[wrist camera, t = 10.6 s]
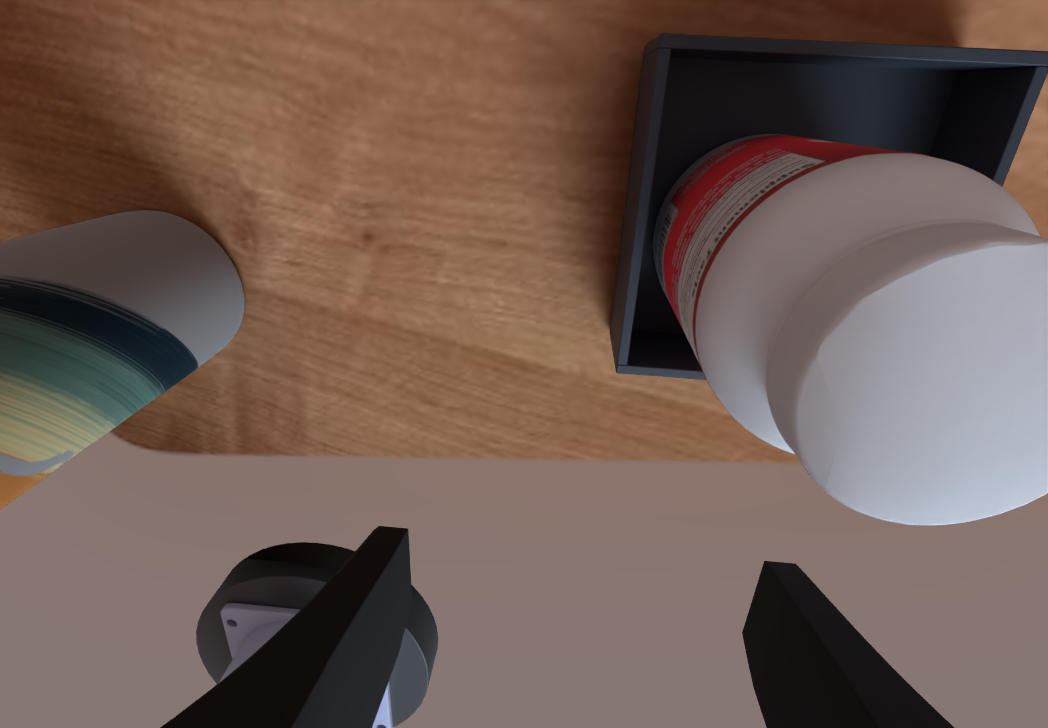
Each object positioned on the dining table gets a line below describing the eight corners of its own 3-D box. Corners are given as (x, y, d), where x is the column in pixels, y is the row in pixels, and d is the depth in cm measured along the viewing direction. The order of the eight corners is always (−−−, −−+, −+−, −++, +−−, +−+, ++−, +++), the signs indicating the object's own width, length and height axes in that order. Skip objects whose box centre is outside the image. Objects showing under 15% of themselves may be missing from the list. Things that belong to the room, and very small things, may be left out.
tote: (865, 350, 20) (919, 396, 17) (609, 332, 20) (615, 373, 17) (963, 60, 16) (1057, 51, 13) (644, 45, 16) (660, 33, 13)
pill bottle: (885, 245, 18) (1285, 430, 8) (719, 358, 20) (870, 617, 10) (780, 82, 16) (1118, 56, 6) (610, 224, 18) (659, 375, 8)
